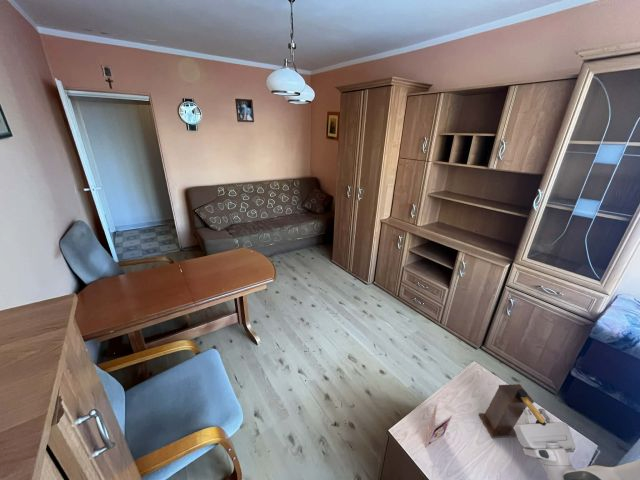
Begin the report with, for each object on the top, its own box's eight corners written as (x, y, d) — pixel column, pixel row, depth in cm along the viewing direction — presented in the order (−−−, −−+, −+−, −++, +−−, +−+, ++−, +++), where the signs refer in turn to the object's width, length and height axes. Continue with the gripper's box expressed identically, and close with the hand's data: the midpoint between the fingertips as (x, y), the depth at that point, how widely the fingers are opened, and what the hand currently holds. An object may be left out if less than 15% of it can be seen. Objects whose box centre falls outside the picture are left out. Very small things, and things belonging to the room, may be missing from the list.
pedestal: (516, 436, 120) (538, 404, 109) (491, 438, 119) (511, 405, 108) (501, 414, 129) (520, 382, 118) (478, 415, 128) (495, 382, 117)
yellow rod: (546, 428, 101) (550, 422, 100) (538, 428, 101) (542, 422, 99) (520, 394, 113) (523, 388, 112) (513, 394, 113) (516, 388, 111)
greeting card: (427, 449, 113) (435, 429, 107) (414, 432, 119) (421, 412, 113) (445, 437, 118) (454, 417, 112) (431, 421, 124) (440, 401, 117)
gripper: (585, 452, 95) (564, 407, 103) (533, 456, 94) (515, 410, 101) (570, 451, 101) (551, 408, 108) (520, 454, 99) (505, 410, 107)
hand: (533, 409), depth 105 cm, fingers open, 5 cm apart
